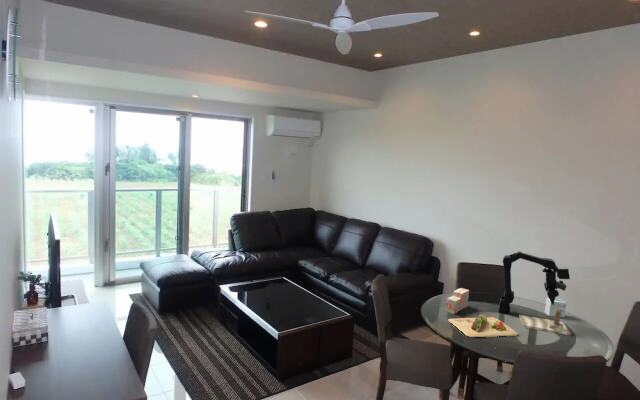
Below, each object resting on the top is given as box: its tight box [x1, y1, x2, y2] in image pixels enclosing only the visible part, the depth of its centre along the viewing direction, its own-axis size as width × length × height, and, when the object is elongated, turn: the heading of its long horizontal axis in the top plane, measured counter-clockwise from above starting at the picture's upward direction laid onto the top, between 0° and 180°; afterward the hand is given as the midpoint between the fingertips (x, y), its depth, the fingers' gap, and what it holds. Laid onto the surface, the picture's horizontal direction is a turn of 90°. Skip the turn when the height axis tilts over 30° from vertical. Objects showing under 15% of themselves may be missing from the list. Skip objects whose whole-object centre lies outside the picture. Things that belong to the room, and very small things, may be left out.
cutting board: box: [447, 314, 519, 338], centre depth 241 cm, size 35×23×8 cm
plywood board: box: [518, 314, 572, 337], centre depth 250 cm, size 26×17×2 cm, turn 72°
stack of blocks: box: [445, 287, 470, 315], centre depth 268 cm, size 21×6×12 cm, turn 136°
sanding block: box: [549, 309, 563, 331], centre depth 243 cm, size 6×7×12 cm
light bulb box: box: [544, 297, 567, 318], centre depth 268 cm, size 11×7×11 cm, turn 84°
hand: (551, 301), depth 255 cm, fingers open, 9 cm apart
